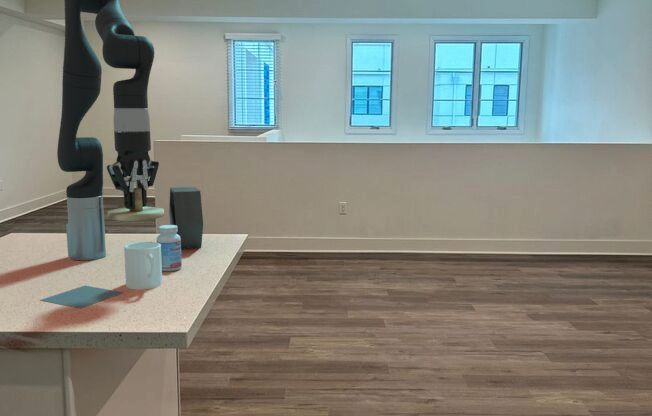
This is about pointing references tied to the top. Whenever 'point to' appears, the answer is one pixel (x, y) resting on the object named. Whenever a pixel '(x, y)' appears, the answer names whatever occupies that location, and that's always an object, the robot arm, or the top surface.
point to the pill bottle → (170, 248)
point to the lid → (136, 211)
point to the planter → (187, 215)
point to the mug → (143, 265)
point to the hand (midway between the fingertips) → (135, 207)
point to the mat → (82, 296)
